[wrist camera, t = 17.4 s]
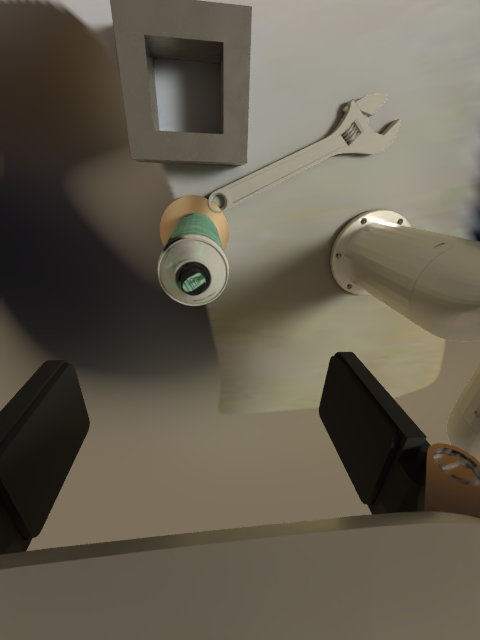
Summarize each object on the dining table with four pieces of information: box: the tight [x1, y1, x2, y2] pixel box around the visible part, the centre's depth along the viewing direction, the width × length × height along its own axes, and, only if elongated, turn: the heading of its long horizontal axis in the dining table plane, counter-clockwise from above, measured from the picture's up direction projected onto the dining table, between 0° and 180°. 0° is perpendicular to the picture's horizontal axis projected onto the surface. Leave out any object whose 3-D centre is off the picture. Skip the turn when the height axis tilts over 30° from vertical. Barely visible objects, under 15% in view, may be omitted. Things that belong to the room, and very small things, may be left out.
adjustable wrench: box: [208, 93, 401, 213], centre depth 34 cm, size 25×6×2 cm, turn 109°
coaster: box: [160, 195, 229, 250], centre depth 36 cm, size 9×9×1 cm
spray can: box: [158, 213, 229, 306], centre depth 27 cm, size 6×6×20 cm
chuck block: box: [110, 0, 252, 166], centre depth 28 cm, size 12×12×5 cm
